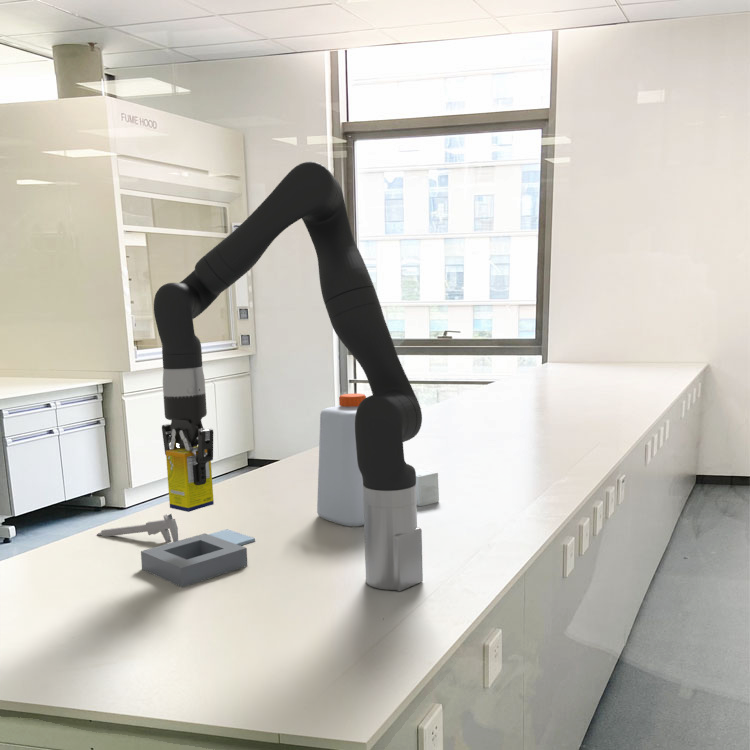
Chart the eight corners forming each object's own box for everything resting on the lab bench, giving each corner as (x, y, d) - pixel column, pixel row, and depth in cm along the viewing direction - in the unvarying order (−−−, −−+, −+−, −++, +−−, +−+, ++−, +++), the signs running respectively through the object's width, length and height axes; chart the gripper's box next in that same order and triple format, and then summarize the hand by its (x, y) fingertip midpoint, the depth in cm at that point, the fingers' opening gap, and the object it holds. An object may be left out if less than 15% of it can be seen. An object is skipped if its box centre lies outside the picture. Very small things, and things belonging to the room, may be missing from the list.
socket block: (247, 565, 143) (246, 547, 142) (182, 587, 133) (181, 568, 132) (205, 550, 152) (204, 533, 152) (141, 569, 142) (140, 551, 142)
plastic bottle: (351, 530, 163) (347, 401, 160) (309, 516, 174) (305, 395, 171) (403, 516, 173) (400, 394, 170) (360, 503, 184) (356, 389, 181)
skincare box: (439, 502, 183) (438, 472, 183) (419, 506, 180) (418, 476, 179) (424, 497, 188) (423, 468, 188) (404, 501, 185) (403, 472, 184)
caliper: (178, 543, 158) (177, 513, 158) (175, 544, 157) (174, 515, 157) (100, 535, 166) (98, 507, 165) (96, 536, 165) (94, 508, 164)
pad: (255, 541, 157) (255, 538, 157) (214, 553, 150) (214, 550, 150) (227, 531, 164) (227, 529, 164) (186, 543, 157) (186, 540, 157)
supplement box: (194, 500, 145) (191, 444, 144) (214, 505, 142) (211, 447, 140) (168, 508, 141) (164, 450, 140) (188, 512, 137) (184, 452, 136)
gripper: (224, 392, 137) (229, 483, 138) (181, 388, 147) (186, 473, 148) (188, 396, 131) (194, 491, 133) (146, 392, 141) (151, 480, 143)
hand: (190, 481), depth 141 cm, fingers closed on supplement box, 6 cm apart
